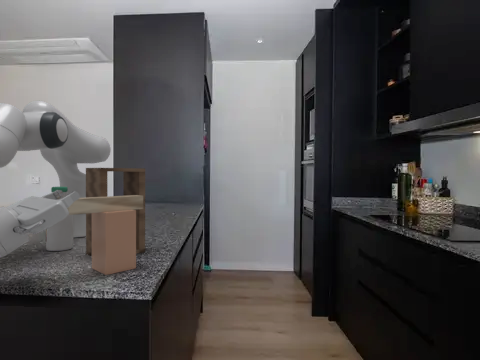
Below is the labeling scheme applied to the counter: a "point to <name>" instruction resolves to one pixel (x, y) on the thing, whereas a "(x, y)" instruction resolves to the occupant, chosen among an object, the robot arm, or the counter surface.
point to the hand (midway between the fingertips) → (69, 193)
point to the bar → (105, 204)
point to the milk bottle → (60, 230)
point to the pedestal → (114, 241)
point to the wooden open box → (131, 186)
